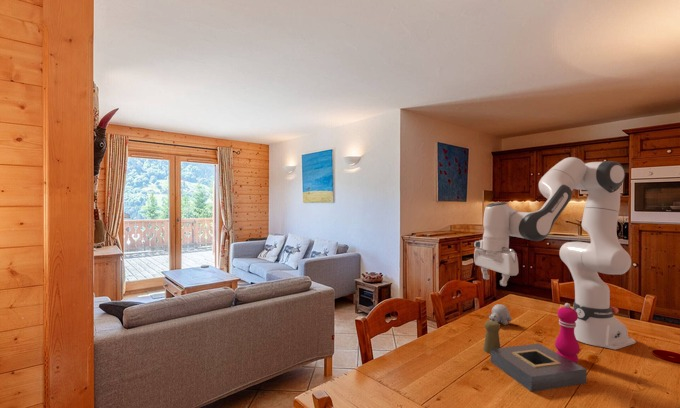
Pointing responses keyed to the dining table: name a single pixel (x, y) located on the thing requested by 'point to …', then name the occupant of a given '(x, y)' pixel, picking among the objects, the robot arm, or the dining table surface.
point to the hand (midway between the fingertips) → (494, 282)
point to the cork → (491, 336)
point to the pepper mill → (567, 333)
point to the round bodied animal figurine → (500, 314)
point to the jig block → (538, 367)
